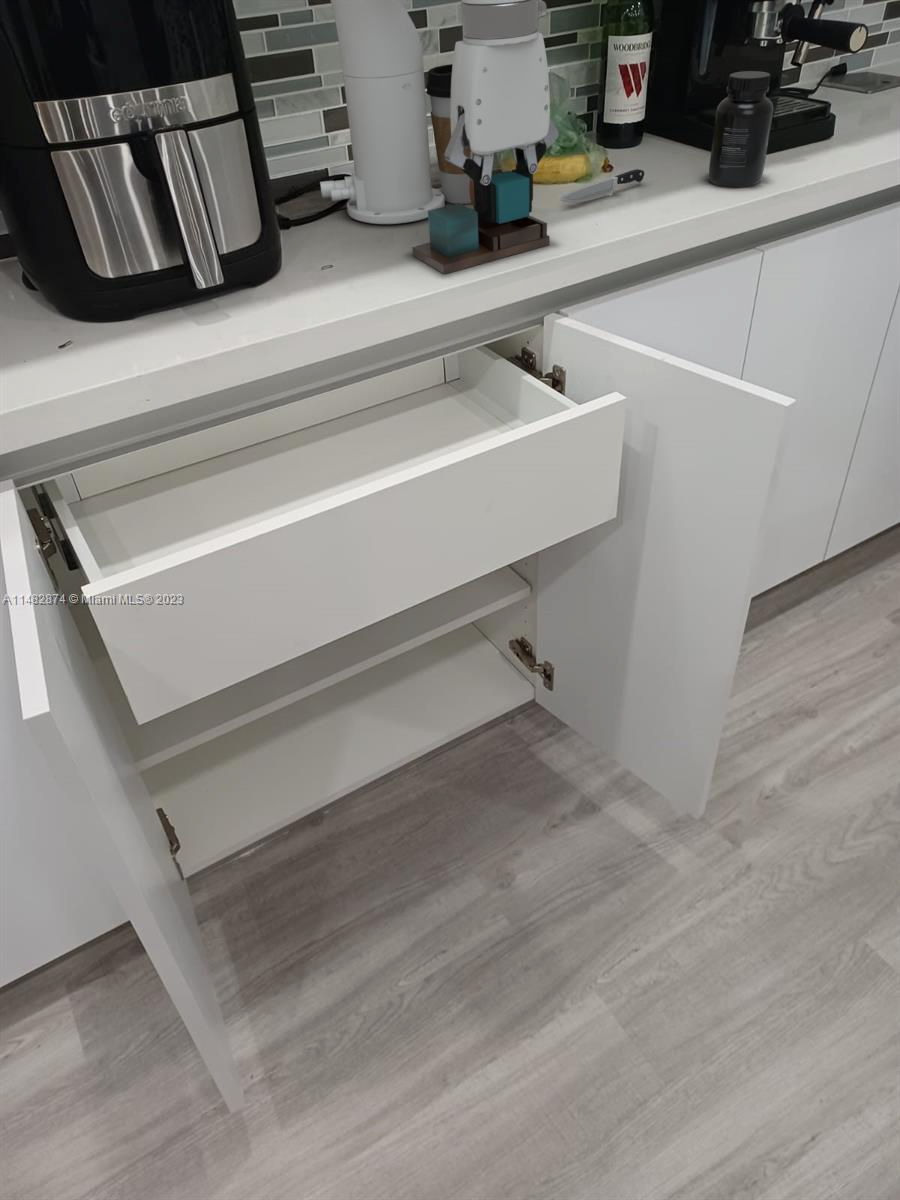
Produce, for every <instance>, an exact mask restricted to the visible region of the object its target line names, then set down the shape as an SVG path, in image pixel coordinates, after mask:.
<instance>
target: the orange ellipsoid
mask: <svg viewBox="0 0 900 1200" xmlns="http://www.w3.org/2000/svg"><path fill="white" fill-rule="evenodd" d="M469 193H470V200H471V203H470V204H471V206H472V208H473V210H475V201H474V181H473V180H471V179H470V183H469Z"/></svg>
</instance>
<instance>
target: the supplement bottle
mask: <svg viewBox="0 0 900 1200" xmlns="http://www.w3.org/2000/svg"><path fill="white" fill-rule="evenodd" d="M770 79H771V74H770V73H769V72H765V71H758V70H754V71H753V70H745V71H737V72H736V71H735V72H733V73H731V74H729V75H728V82H727V87H726V93H727V97H725V98H724V99H722V101H720V103H718V104H717V107H716V111H715V118H714V126H713V134H712V143H711V150H710V157H709V165H708V167H709V168H708V177H707V178H708V180H709V181H710V182H711V183H712V184H714V185H716V186H720V187H727V188H742V187H744V188H745V187H749V186H753V185H756V184H759V182H761V180H762V179H763V175H764V170H765V166H766V160H767V154H768V153H767V152H768V147H769V140H770V134H771V130H772V129H771V127H772V123H773V115H774V104H773V101H771V100H770V98H768V97H767V96H766V95H767V94H768V92H769V91H770V86H769V85H770Z"/></svg>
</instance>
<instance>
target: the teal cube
mask: <svg viewBox="0 0 900 1200" xmlns="http://www.w3.org/2000/svg"><path fill="white" fill-rule="evenodd" d="M491 183H493V184H495V188H496V221H495V222H496V223H499V224H501V223H505V222H509V221H513V220H516V219H520V218H524V217H528V216H529V215H530V213H529V178H527V177H525V176H522V175H520V174H517V173H514V172H512V170H506V171H502V172H498V173H493V174H492V175H491Z"/></svg>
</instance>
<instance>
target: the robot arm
mask: <svg viewBox="0 0 900 1200" xmlns="http://www.w3.org/2000/svg"><path fill="white" fill-rule="evenodd" d="M329 1H330V4H331V8H332V13H333V17H334V22H335V28H336V34H337V40H338V47H339V54H340V62H341V70H342V77H343V85H344V95H345V103H346V109H347V118H348V119H347V120H348V126H349V135H350V143H351V152H352V161H353V167H354V168H352V169H351V175H350V176H344V179H342V180H326V181H325V180H324V181H319V185H320V193H321V198H322V199H329V198H330V199H331V201H332V202H336V201H342V200H348V201H347V202H346V211H347V215H349V217H350V218H351V219H354V220H356V221H358V222H361V223H366V224H373V225H399V224H406V223H407V224H408V223H412V222H418V221H422V220H425V219H428V211H429V210H433V209H437V208H441V207H445V206H446V201H445V196H444V194H443V193H442V191H440V190H439V189H437V188H434V187H433V185H432V172H431V156H430V155H431V154H430V141H429V128H428V127H429V126H428V113H427V98H426V83H425V82H426V81H425V70H424V69H425V68H424V54H423V46H422V42H421V38H420V35H419V33H418V30H417V28H416V26H415V23H414V22H413V20H412V18H411V16H410V15H409V12H408V10H407V9H406V6H405V5H404V2H403V0H329ZM460 1H461V6H460V7H461V25H462V27H461V28H462V40H458V41H456V42H455V44H454V51H453V59H452V64H453V66H452V78H451V139H450V142H449V144H448V146H447V149H446V151H445V154H444V158H445V159H446V160H447V161H449V162H450V163H452V164H454V165H456V166H458V167H459V168H461V169H462V170H463V171H464V172H465V173H466V174H467V175H468V176H469V178H470V179H471V180H473V181H474V201H475V209H474V211H476V212H477V213H478V217H479V218H481V219H483V220H485V221H487V222H489V223H492V222H495V221H496V188H495V184H493V183H491V175H493V174H492V173H493V165H494V159H495V158H494V156H495V153H497V152H498V153H499V152H502V151H503V152H504V151H507V150H512V153H513V160H514V165H515V166H514V167H515V168H514V169H511V171H512V172H514V173H517V174H520V175H522V176H525V177H527V178H529V214H530V213H532V212H533V200H534V175H535V174H536V173H537V172H538V169H539V163H540V162H541V160H542V159H543V157H544V155H545V154H546V153H547V149H549V148H550V147H551V146H552V145H553V144H554V142H555V141H556V140H557V139H558V138H559V135H560V132H559V130H558V127H557V126H556V123H555V122H554V120H553V118H552V116H551V95H550V77H549V76H550V75H549V65H548V59H547V52H546V46H545V41H544V40H545V39H544V36H543V34H542V33H541V32H539V26H540V25H539V23H540V22H539V19H540V18H543V17H545V16H546V15H547V11H548V7H547V3H546V2H545V1H544V0H541V1H539V0H460ZM468 147H470V148H471V155H470V158H468V157H467V156H465V155H464V153H463V150H464V148H468Z"/></svg>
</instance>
